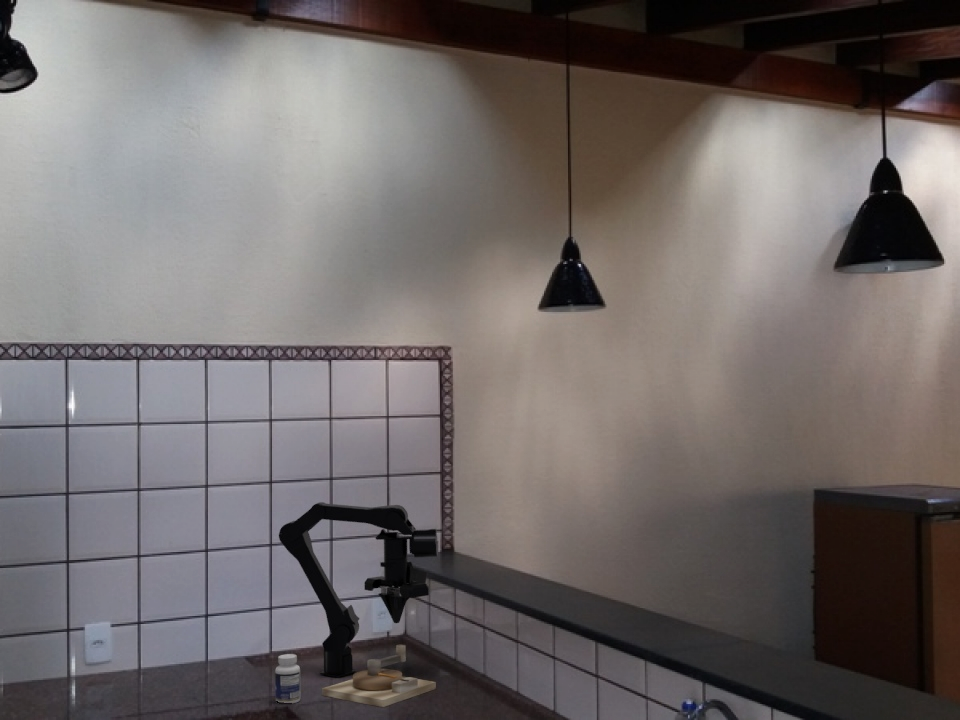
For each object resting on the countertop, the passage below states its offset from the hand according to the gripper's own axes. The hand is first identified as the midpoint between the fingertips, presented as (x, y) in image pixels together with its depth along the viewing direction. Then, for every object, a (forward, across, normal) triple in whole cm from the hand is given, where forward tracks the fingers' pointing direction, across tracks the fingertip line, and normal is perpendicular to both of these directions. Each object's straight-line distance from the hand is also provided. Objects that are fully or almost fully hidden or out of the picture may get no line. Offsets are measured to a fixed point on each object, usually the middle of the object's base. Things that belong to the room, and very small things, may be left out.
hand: (396, 622), depth 255 cm
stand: (+12, -11, +14) cm, 21 cm away
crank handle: (+10, -10, +11) cm, 18 cm away
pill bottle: (+12, -3, +32) cm, 34 cm away
